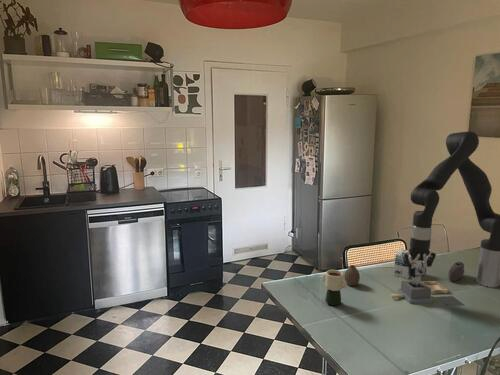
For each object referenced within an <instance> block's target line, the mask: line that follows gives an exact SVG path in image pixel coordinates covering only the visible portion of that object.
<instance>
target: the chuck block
mask: <svg viewBox="0 0 500 375" xmlns="http://www.w3.org/2000/svg"><path fill="white" fill-rule="evenodd" d="M423 282H424V281H422V280H421V285H420V287H412V286H411V285H412V280H401V283H400V284H401V285H400V288H397V294H395V293H393V294H391V298H393V299H397V298H398V299H399V298H402V299H404V300H405V301H406V302H407V303H408V304H434V303H433V302H434V298H433V297H432V295H431V288H429V287H428V286H427V285H425V284H424V283H423Z"/></svg>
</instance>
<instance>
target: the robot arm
mask: <svg viewBox="0 0 500 375" xmlns="http://www.w3.org/2000/svg"><path fill="white" fill-rule="evenodd" d="M479 143H480V139H479V136H478V134H477V133H475V132H474V131H460V132H453V133H450V134H448V135H447V136H446V139H445V147H446V150H447V152H448V153H449V155H450V156H448V157H446V158H445V159H444V160H442V161H441V162H439V163H438V164H437V165H436V166H435V167H434V168H433V170H432V171H431V172H430V173H429V174H428V176H427V178H426V179H424V180H423V181H421V182H420V183H418V185H416V186H415V187H414V188H413V190H412V191H411V193H410V200H411V201H410V202H411V203H412V204H414V205H417V206H422V207H424V209H423V210H416V211H414V212H413V216H412V225H411V226H412V227H411V229H410V230H411V231H410V241H409V250H408V251H409V252H406V253H405V252H403V253H402V255H403V260H404V264H405V265H406V266H407V267H409V272H408V273H409V275H410V277H411V278H412V277H414V266H415V264H418V262H419V261H420V265H422V266H423V267H425V275H421V278H422V277H425V276H426V275H427V269H428V267H429V268H431V267H432V265H433V263H434V261H435V258H436V256H437V254H436V253H435V252H434V251H430V249H431V242H432V240H431V239H432V224H433V223H432V222H433V217H434V214H435V212H436V209H437V207H438V205H439V202H440V194H439V191H441V190H442V189H443V188H444V187H445V185H446V184H447V183H448V181H450V178H451V177H452V175H453V174H454V173H455V172H456V171H457V170H458V172H459V175H460V176H461V179H462V182H463V183H464V187H465V189H466V191H467V193H468V195H469V198H470V201H471V203H472V205H473V207H474V211H475V214H476V215H475V216H476V218H477V221H478V224H479V227H480V229H482V230H483V231H485V232H486V233H489V234H490V235H489V238H487V239H486V238H484V239H482V240H480V245H479V246H480V248H479V255H478V262H477V271H476V277H475V282H476V283H477V284H479V285H480V284H481V286H483V285H484V287H486V286H488V287H487V288H498V286H499V285H500V214H499V213H496V212H494V210H493V208H492V206H491V203H490V198H491V195H492V190H493V189H492V185H491V182H490V179H489V176H488V175H487V173H486V172H485V171H484V170H483V169H481V168H480V166H478V165H477V164H475V163H474V162H473V161H472V160H471V159H470V156H472V154H474V152H475V151H476V150H477V149H478V147H479ZM409 255H411V257H410V262H409ZM413 259H414V260H413ZM499 287H500V286H499Z"/></svg>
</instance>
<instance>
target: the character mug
mask: <svg viewBox="0 0 500 375" xmlns="http://www.w3.org/2000/svg"><path fill="white" fill-rule="evenodd" d="M344 274H345V273H344V272H343V271H342V270H338V269H329V270H327V271H326V272H325V273H323V274H322V281H323V282H325V283H324V284H325V288H326V295H325V303H327V304H328V305H331V306H336V305H340V304H342V297H341V296H342V295H341V291H342V290H343V289H347V285H348V284H347V282H346V281H345V280H344Z"/></svg>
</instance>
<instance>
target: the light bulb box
mask: <svg viewBox="0 0 500 375" xmlns="http://www.w3.org/2000/svg"><path fill="white" fill-rule="evenodd" d="M403 252H405V253H406V252H409V250H407V249H403V248H401V249H400V250H399V251H398V252H396V253H395V255H394V256H395V257H394V269H393V276H396V277H399V278H403V279H407V280H409V278H410V277H411V276H410V275H409V273H408V272H409V267H407V266H406V265H405V264H404V260H403V255H402V253H403ZM410 257H411V255H409V262H410ZM413 260H414V259H413Z"/></svg>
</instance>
